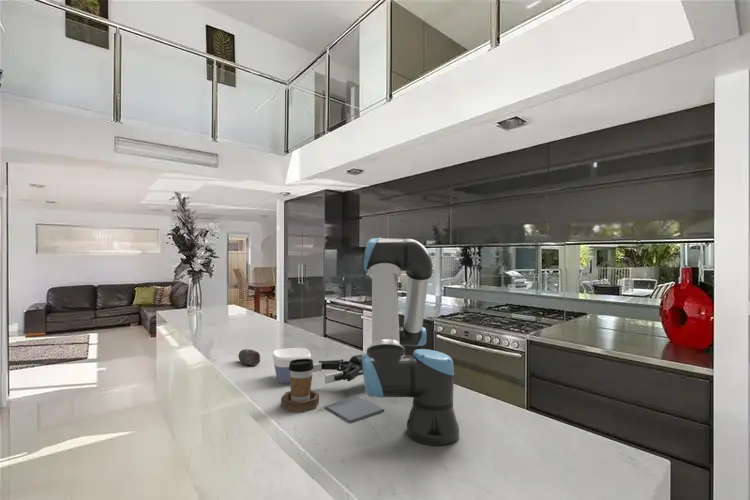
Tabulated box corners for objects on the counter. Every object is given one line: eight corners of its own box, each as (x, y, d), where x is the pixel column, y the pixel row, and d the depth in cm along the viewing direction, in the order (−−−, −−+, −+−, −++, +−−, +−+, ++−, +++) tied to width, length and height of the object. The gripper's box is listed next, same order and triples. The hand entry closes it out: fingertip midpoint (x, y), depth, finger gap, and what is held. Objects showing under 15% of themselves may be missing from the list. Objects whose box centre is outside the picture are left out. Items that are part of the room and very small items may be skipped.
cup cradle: (324, 405, 124) (324, 396, 124) (292, 414, 116) (293, 405, 116) (306, 395, 133) (307, 387, 133) (276, 403, 125) (276, 394, 126)
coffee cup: (307, 410, 120) (308, 364, 120) (283, 408, 122) (284, 362, 122) (316, 401, 128) (317, 358, 128) (294, 398, 130) (295, 356, 130)
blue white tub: (313, 383, 147) (314, 355, 147) (274, 387, 141) (274, 358, 141) (306, 372, 161) (306, 346, 161) (270, 375, 155) (270, 349, 156)
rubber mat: (384, 411, 120) (384, 408, 120) (350, 422, 111) (350, 420, 111) (358, 398, 131) (358, 396, 131) (325, 408, 122) (325, 405, 122)
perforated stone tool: (234, 361, 175) (235, 347, 175) (244, 359, 179) (245, 345, 179) (250, 368, 165) (251, 353, 165) (261, 366, 169) (261, 351, 169)
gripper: (382, 382, 133) (334, 395, 120) (343, 366, 152) (298, 376, 139) (383, 361, 134) (335, 372, 120) (344, 348, 153) (298, 356, 139)
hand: (315, 374), depth 129 cm, fingers open, 13 cm apart
